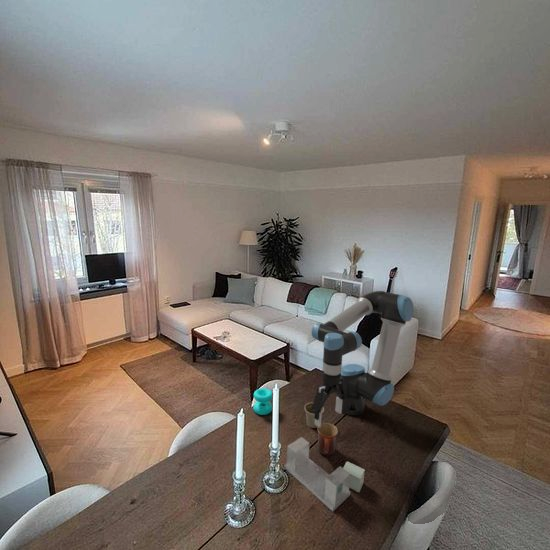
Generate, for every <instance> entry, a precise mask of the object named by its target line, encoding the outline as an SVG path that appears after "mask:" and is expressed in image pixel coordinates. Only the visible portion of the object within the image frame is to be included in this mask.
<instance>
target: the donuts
mask: <svg viewBox="0 0 550 550" xmlns="http://www.w3.org/2000/svg"><path fill="white" fill-rule="evenodd" d="M272 393H273V391H271V389H268V388H264V387H262V388H258V389H256V390H255V391H254V393H253V398H254V401H255V400H256V402H255V403H254V404H253V406H252V407H253V411H254V413H256V414H257V415H261V416H265V415H268V414H270V413H271V412H272V411H273V409H272V407H273V404H272V403H271V400H272V399H273V398H272Z"/></svg>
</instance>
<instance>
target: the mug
mask: <svg viewBox="0 0 550 550" xmlns="http://www.w3.org/2000/svg"><path fill="white" fill-rule="evenodd" d="M316 429H317V430H316V431H317V434H318V437H317V438H318V439H317V450H318V453H320V455H323V456H327V457H329V456H331V455H333V454H334V453H335V450H336V441H337V440H336V439H337V435H339V434H338V433H339V430H338V428H337V426H336V425H334V424H332V423H330V422H323V423H322V422H321V427H320V428H319V427H317V428H316Z"/></svg>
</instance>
